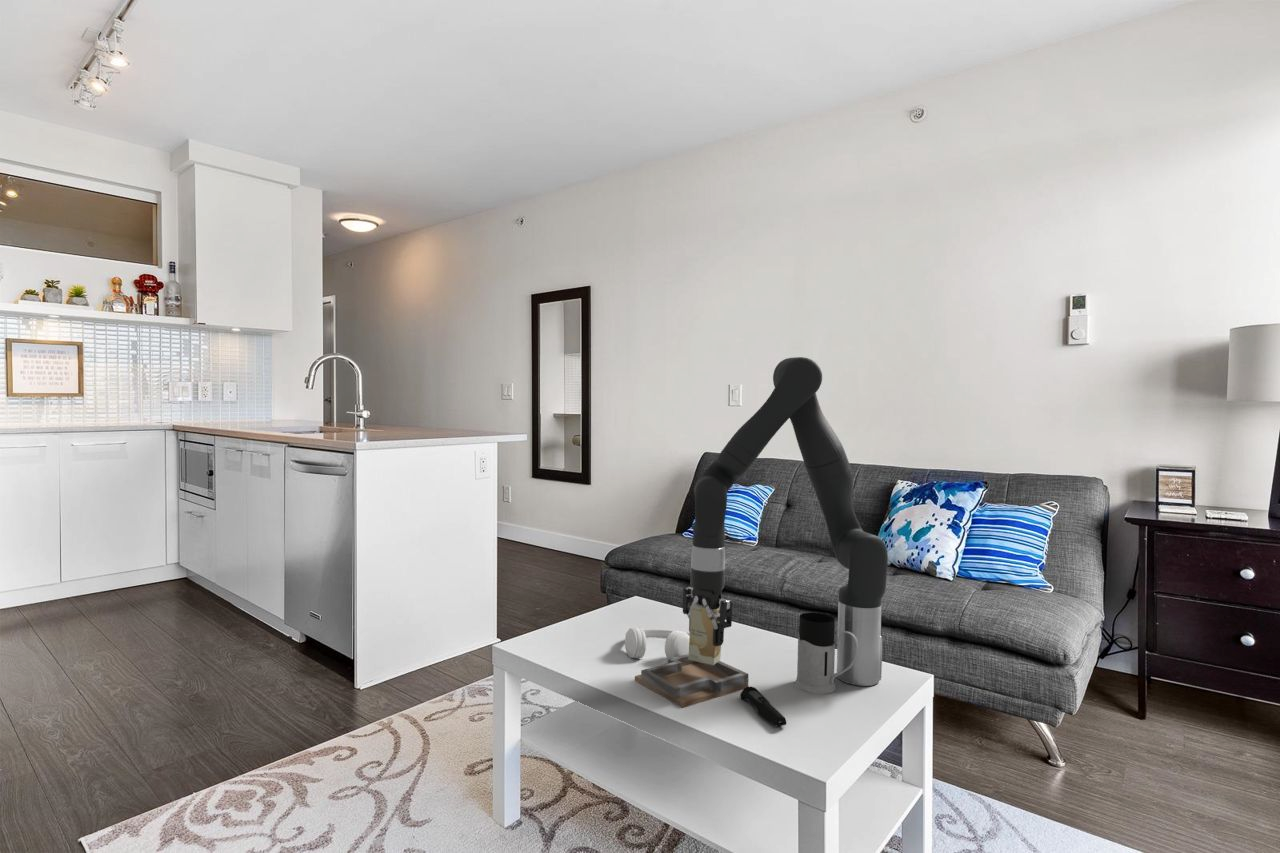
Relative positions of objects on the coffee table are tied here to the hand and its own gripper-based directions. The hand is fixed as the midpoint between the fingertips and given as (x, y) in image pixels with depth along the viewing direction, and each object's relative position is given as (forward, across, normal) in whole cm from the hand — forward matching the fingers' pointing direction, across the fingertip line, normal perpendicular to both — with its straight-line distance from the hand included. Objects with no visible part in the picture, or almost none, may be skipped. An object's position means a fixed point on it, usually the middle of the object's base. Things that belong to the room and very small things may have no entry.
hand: (705, 640), depth 148 cm
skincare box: (+5, 0, 0) cm, 5 cm away
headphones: (+10, +21, -4) cm, 23 cm away
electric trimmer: (+9, -18, +1) cm, 21 cm away
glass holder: (+9, -18, -19) cm, 28 cm away
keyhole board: (+9, 0, +4) cm, 10 cm away
